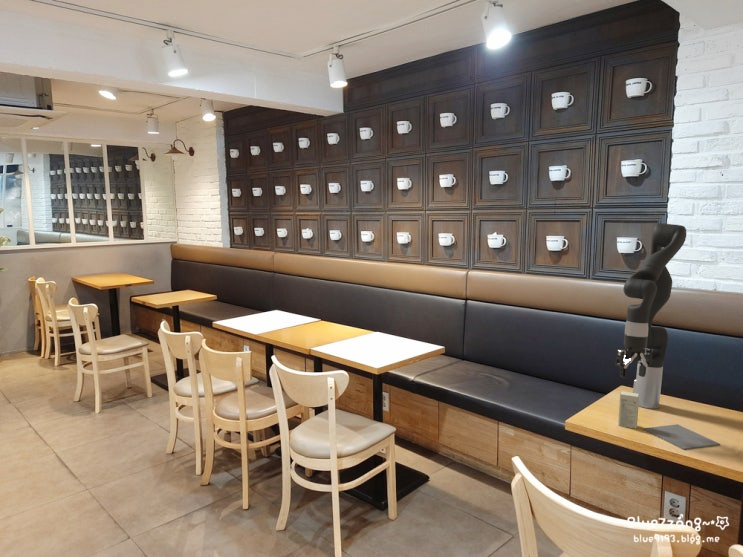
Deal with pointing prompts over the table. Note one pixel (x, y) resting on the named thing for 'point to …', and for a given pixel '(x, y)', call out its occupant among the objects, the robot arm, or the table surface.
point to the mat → (681, 437)
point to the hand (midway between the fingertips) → (632, 377)
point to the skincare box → (628, 409)
